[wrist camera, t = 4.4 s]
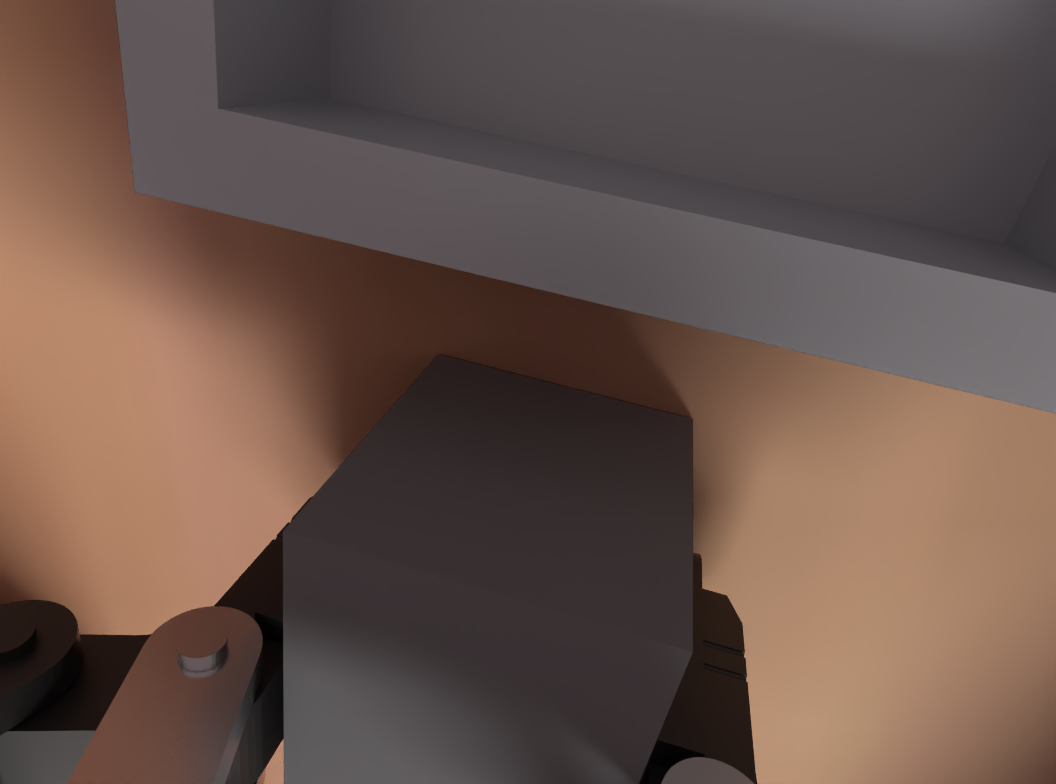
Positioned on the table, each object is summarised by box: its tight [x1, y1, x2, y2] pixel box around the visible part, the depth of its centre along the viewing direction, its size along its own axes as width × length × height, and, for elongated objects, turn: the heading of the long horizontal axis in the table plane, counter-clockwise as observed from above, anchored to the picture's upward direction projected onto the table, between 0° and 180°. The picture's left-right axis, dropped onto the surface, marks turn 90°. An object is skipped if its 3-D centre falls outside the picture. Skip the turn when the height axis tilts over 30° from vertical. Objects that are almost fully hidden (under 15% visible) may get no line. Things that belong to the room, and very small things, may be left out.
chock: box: [283, 354, 693, 784], centre depth 10 cm, size 4×6×4 cm
